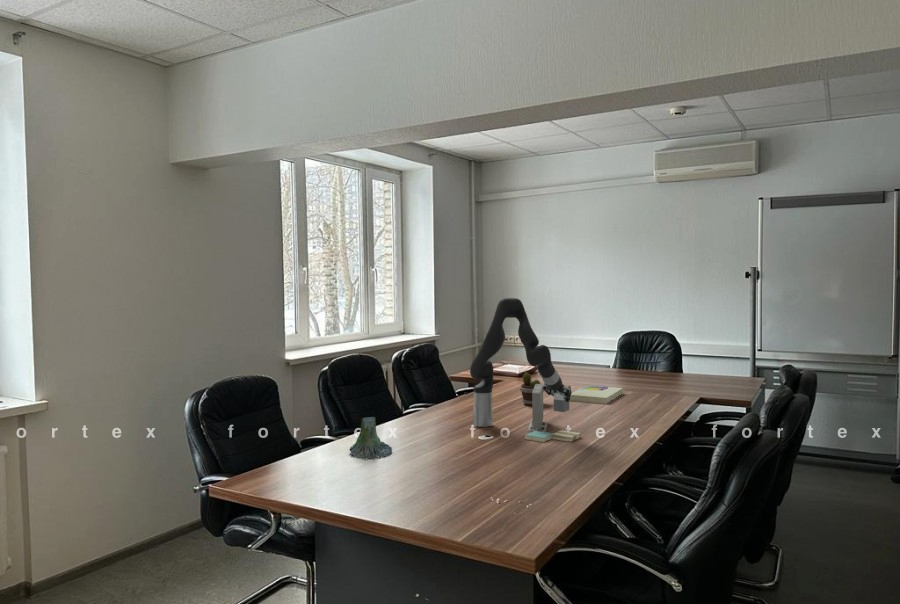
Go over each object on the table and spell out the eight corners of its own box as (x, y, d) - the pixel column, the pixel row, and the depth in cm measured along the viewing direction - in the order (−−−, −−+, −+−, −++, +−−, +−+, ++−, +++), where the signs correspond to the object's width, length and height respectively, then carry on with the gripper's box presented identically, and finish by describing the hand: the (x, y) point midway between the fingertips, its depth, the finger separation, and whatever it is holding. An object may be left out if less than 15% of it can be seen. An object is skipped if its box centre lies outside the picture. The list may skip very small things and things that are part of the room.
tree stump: (352, 462, 267) (348, 419, 270) (348, 461, 286) (344, 420, 289) (395, 456, 272) (390, 414, 275) (389, 455, 291) (384, 415, 294)
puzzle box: (567, 401, 385) (606, 405, 373) (567, 394, 385) (606, 397, 373) (587, 392, 416) (624, 394, 404) (587, 385, 416) (624, 387, 404)
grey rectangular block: (563, 412, 294) (563, 388, 294) (553, 410, 297) (553, 387, 297) (569, 409, 299) (569, 386, 298) (559, 408, 302) (559, 385, 301)
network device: (545, 433, 307) (544, 392, 306) (527, 433, 309) (526, 392, 308) (547, 421, 332) (547, 383, 331) (531, 421, 334) (530, 383, 333)
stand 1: (543, 442, 292) (543, 437, 291) (524, 439, 298) (524, 434, 297) (554, 437, 299) (554, 433, 299) (535, 434, 306) (535, 430, 305)
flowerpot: (549, 403, 379) (548, 369, 379) (538, 407, 367) (537, 373, 366) (526, 400, 387) (526, 368, 386) (515, 405, 374) (515, 371, 374)
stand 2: (570, 441, 291) (570, 437, 291) (551, 438, 297) (551, 434, 297) (580, 437, 299) (580, 433, 299) (561, 434, 305) (561, 430, 305)
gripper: (568, 372, 287) (579, 394, 297) (539, 370, 296) (552, 391, 306) (562, 386, 283) (574, 408, 293) (534, 383, 292) (547, 404, 302)
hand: (563, 399), depth 299 cm, fingers closed on grey rectangular block, 5 cm apart
